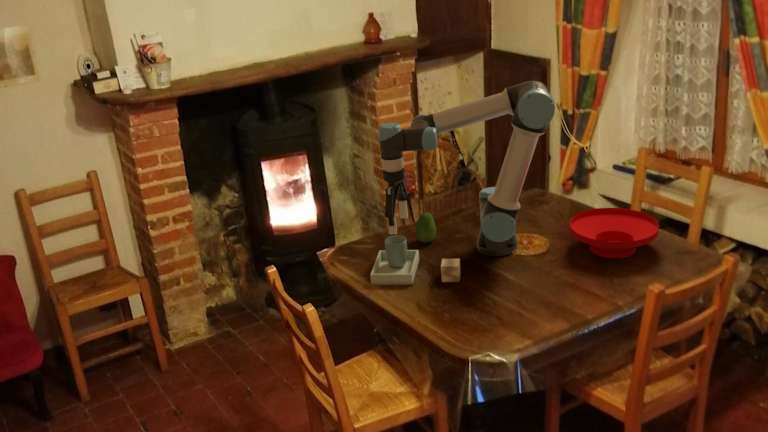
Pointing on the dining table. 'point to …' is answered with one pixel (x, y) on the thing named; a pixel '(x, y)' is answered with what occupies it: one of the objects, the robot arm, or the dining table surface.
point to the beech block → (450, 270)
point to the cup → (396, 251)
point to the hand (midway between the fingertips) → (398, 225)
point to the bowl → (614, 230)
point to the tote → (394, 270)
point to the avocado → (425, 228)
